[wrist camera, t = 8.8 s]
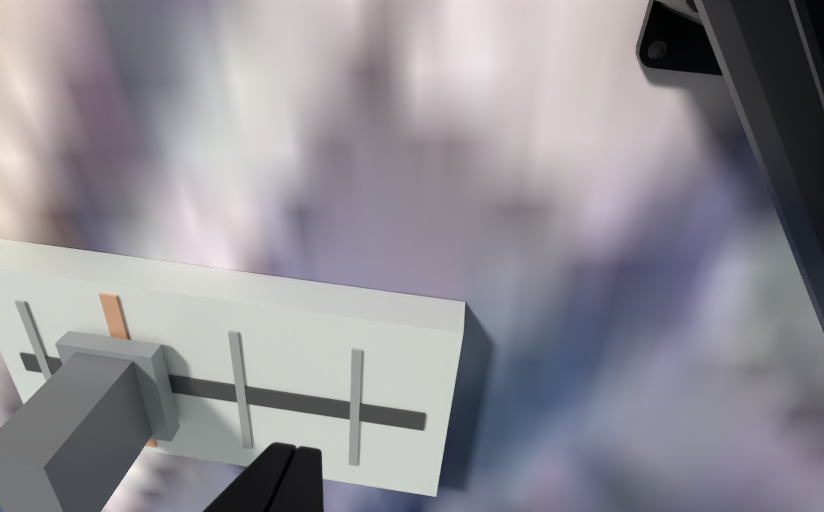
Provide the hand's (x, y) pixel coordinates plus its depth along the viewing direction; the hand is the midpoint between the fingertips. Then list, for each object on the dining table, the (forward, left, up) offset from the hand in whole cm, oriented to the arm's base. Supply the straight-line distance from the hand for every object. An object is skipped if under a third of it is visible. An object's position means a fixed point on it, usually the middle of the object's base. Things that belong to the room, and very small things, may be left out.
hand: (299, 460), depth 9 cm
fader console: (+7, +10, -12) cm, 17 cm away
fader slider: (+11, +10, -10) cm, 18 cm away
